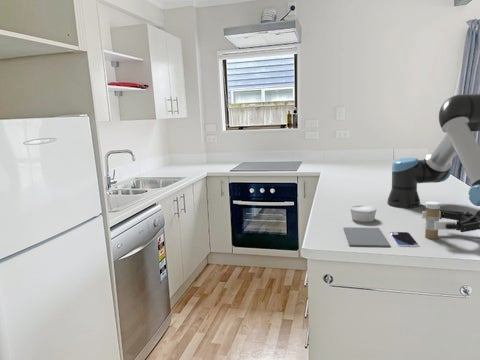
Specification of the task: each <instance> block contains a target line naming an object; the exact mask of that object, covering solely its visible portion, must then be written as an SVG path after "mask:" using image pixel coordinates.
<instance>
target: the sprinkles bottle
mask: <svg viewBox="0 0 480 360" xmlns="http://www.w3.org/2000/svg"><path fill="white" fill-rule="evenodd" d="M425 208H426V210H425V211H426V218H425V224H424V225H425V227H424V228H425V231H424V233H425V234H424V237H425V238H426V239H432V240H435V239H438V238H439V230H435V222H440V219H439V211H440V210H441V203H440V202H439V201H438V202H437V201H426V202H425Z"/></svg>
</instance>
